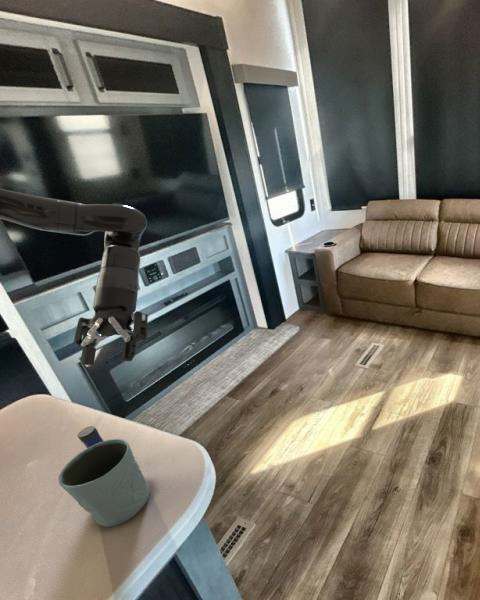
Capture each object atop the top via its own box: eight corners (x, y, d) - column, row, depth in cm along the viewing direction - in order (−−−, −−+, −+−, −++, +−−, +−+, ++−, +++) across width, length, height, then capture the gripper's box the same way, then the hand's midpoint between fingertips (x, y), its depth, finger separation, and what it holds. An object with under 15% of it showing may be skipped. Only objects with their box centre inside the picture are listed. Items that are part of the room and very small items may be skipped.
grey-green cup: (87, 510, 69) (51, 469, 63) (144, 470, 75) (116, 429, 70) (104, 542, 63) (67, 499, 57) (165, 495, 70) (136, 453, 64)
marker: (104, 478, 75) (73, 437, 69) (113, 466, 77) (84, 426, 72) (117, 477, 75) (87, 436, 69) (126, 465, 77) (98, 425, 71)
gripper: (71, 289, 78) (57, 364, 74) (135, 281, 78) (126, 356, 73) (100, 299, 86) (90, 368, 81) (159, 292, 85) (152, 361, 80)
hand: (107, 362), depth 77 cm, fingers open, 8 cm apart
